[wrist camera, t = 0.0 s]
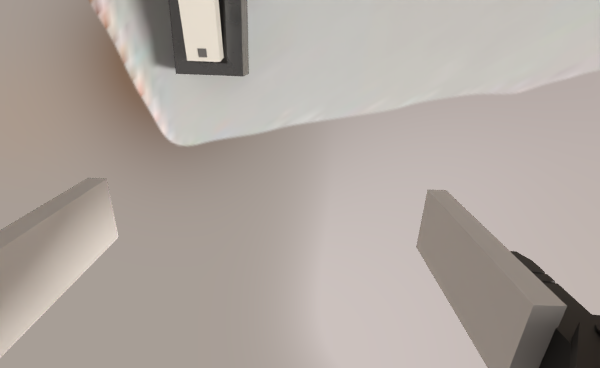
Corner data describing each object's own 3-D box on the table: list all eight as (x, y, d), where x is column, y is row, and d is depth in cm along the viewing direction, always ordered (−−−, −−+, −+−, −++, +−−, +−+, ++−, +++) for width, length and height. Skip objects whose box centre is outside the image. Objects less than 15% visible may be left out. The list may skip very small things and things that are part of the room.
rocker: (182, -12, 30) (176, -11, 29) (217, -11, 30) (212, -9, 29) (192, 56, 34) (187, 60, 32) (223, 57, 34) (219, 62, 32)
